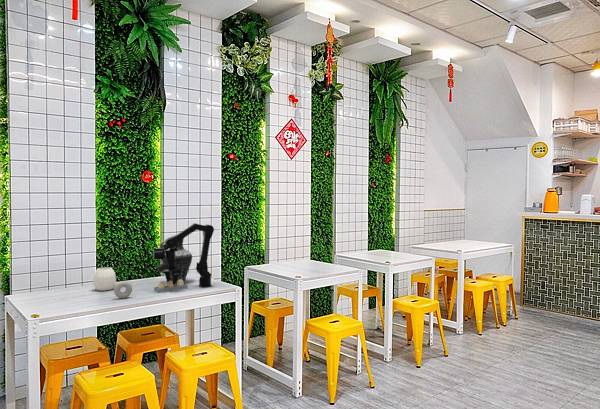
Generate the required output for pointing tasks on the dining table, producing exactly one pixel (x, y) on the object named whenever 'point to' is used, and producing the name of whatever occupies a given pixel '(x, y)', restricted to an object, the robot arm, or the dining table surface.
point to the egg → (170, 284)
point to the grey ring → (120, 285)
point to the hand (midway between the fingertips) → (171, 283)
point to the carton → (164, 288)
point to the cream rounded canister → (104, 279)
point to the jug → (180, 259)
